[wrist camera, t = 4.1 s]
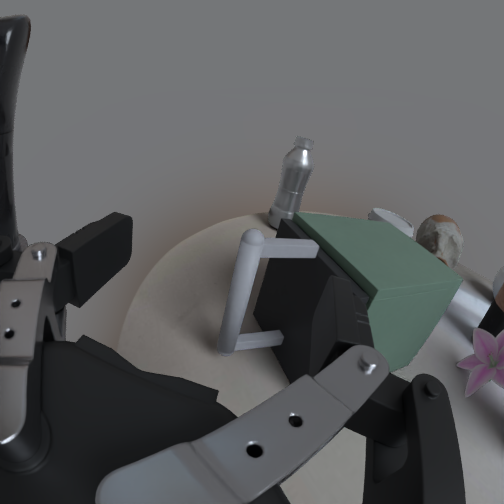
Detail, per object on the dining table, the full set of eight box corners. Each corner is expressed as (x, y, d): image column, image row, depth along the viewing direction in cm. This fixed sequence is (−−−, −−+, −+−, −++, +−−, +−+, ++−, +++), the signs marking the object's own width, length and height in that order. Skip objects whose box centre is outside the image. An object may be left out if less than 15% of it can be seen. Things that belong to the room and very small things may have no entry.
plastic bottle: (284, 221, 69) (307, 138, 59) (300, 234, 64) (327, 145, 54) (260, 220, 65) (283, 132, 56) (275, 235, 60) (302, 139, 51)
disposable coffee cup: (357, 255, 61) (377, 204, 55) (395, 276, 57) (418, 224, 51) (341, 268, 54) (364, 210, 48) (385, 292, 49) (413, 234, 44)
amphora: (464, 223, 69) (479, 220, 45) (450, 275, 73) (458, 297, 48) (423, 211, 77) (418, 202, 52) (410, 262, 80) (400, 278, 56)
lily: (457, 349, 39) (467, 309, 35) (513, 356, 32) (530, 317, 27) (443, 408, 32) (457, 373, 28) (507, 417, 24) (532, 382, 20)
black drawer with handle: (235, 415, 24) (283, 283, 17) (199, 317, 34) (220, 197, 27) (396, 368, 32) (458, 272, 26) (343, 304, 43) (381, 215, 36)
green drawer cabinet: (313, 399, 27) (378, 289, 20) (262, 312, 38) (294, 211, 31) (408, 365, 33) (463, 278, 27) (353, 302, 44) (389, 222, 38)
